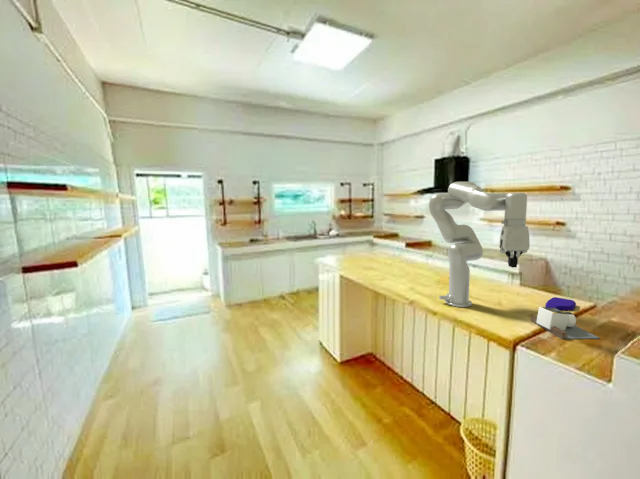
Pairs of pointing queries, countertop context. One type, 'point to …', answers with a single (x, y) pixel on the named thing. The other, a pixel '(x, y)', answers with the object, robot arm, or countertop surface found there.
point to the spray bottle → (561, 304)
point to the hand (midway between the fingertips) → (512, 266)
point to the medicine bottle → (555, 318)
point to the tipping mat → (568, 332)
